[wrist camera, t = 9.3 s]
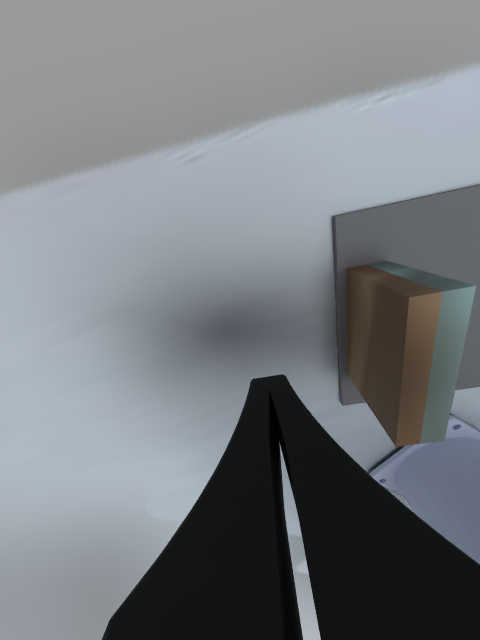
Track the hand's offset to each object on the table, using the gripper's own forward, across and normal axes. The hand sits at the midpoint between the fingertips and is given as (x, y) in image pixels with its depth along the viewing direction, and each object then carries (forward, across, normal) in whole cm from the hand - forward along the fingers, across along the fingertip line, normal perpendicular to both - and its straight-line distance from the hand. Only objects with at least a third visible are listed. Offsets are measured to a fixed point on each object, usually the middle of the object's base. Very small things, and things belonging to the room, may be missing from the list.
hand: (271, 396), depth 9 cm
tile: (+5, -6, 0) cm, 8 cm away
